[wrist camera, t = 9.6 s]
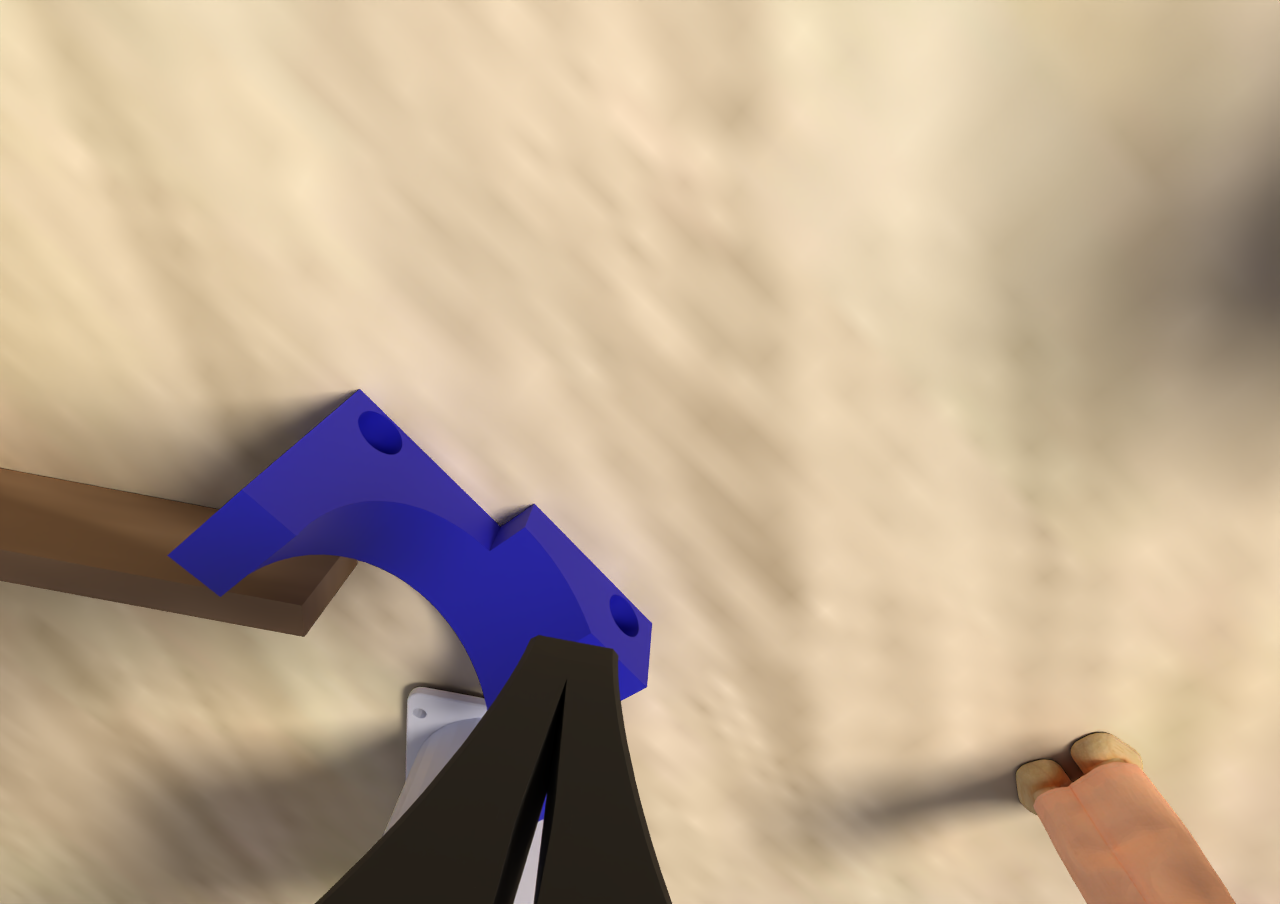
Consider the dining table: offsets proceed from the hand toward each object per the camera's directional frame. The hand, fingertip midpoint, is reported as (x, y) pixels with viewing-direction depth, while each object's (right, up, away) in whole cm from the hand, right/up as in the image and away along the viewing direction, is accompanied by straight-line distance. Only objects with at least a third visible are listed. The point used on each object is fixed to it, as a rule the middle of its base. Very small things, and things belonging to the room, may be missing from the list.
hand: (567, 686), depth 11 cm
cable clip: (-4, +1, +11) cm, 12 cm away
